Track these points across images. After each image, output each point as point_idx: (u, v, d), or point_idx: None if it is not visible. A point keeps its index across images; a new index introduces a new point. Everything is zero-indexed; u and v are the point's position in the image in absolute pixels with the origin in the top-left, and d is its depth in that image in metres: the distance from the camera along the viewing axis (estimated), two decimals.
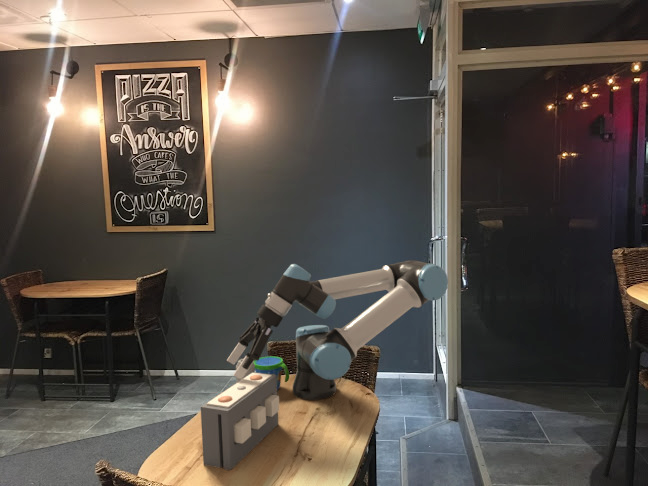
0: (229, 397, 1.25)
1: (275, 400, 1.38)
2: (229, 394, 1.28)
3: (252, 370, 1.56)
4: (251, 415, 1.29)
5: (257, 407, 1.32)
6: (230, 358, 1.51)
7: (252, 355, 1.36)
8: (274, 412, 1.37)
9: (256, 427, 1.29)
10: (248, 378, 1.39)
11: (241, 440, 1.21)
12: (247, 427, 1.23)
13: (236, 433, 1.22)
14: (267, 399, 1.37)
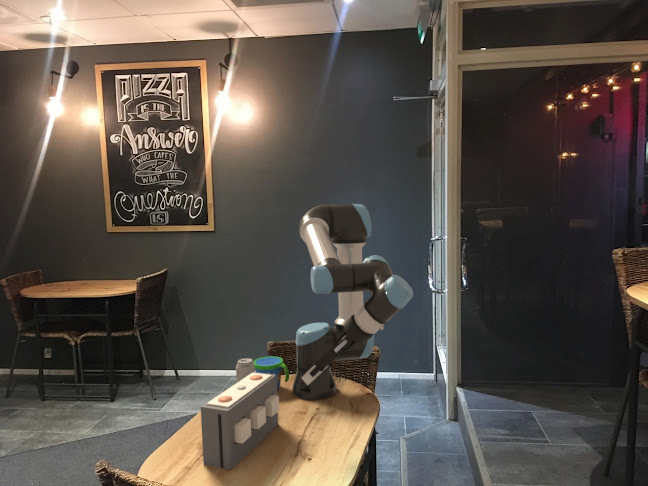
0: (229, 397, 1.25)
1: (275, 400, 1.38)
2: (229, 394, 1.28)
3: (252, 370, 1.56)
4: (251, 415, 1.29)
5: (257, 407, 1.32)
6: None
7: None
8: (274, 412, 1.37)
9: (256, 427, 1.29)
10: (248, 378, 1.39)
11: (241, 440, 1.21)
12: (247, 427, 1.23)
13: (236, 433, 1.22)
14: (267, 399, 1.37)
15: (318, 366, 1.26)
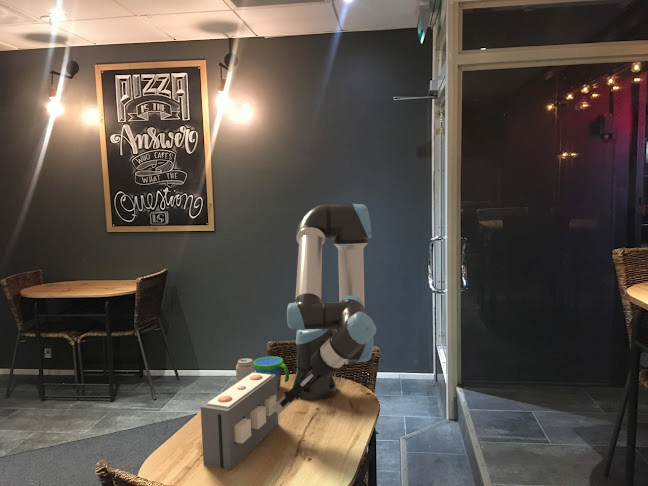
0: (229, 397, 1.25)
1: (273, 399, 1.38)
2: (229, 394, 1.28)
3: (252, 370, 1.56)
4: (251, 415, 1.29)
5: (257, 407, 1.32)
6: None
7: None
8: (271, 411, 1.37)
9: (256, 427, 1.29)
10: (248, 378, 1.39)
11: (241, 440, 1.21)
12: (247, 427, 1.23)
13: (236, 433, 1.22)
14: None
15: (287, 397, 1.32)
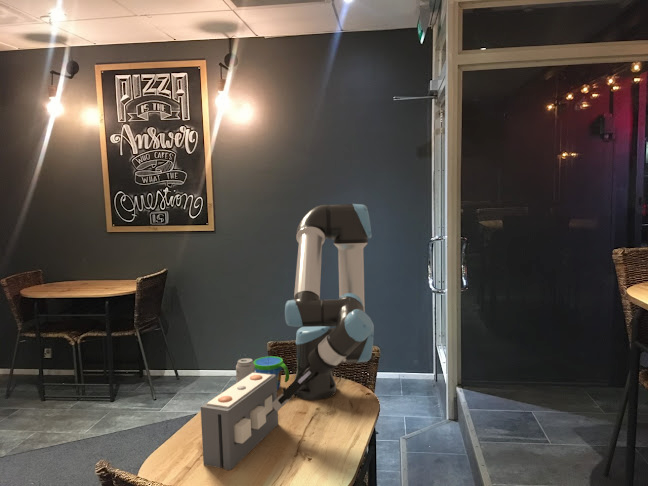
0: (229, 397, 1.25)
1: (269, 399, 1.39)
2: (229, 394, 1.28)
3: (252, 370, 1.56)
4: (251, 415, 1.29)
5: (257, 407, 1.32)
6: None
7: None
8: (267, 411, 1.38)
9: (256, 427, 1.29)
10: (248, 378, 1.39)
11: (241, 440, 1.21)
12: (247, 427, 1.23)
13: (236, 433, 1.22)
14: None
15: (285, 394, 1.32)
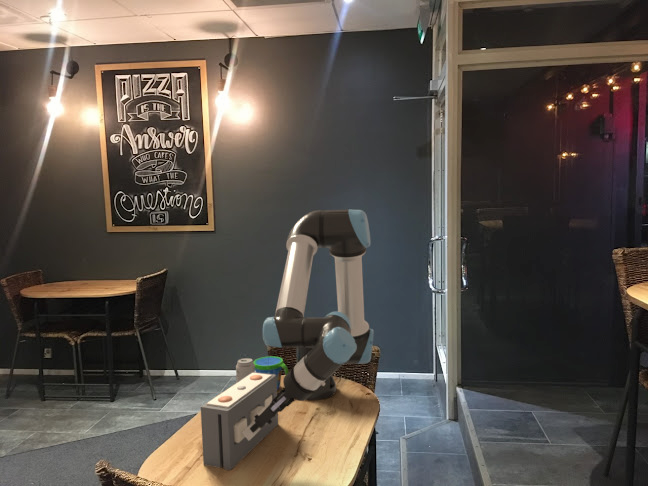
0: (229, 397, 1.25)
1: (269, 399, 1.39)
2: (229, 394, 1.28)
3: (252, 370, 1.56)
4: (251, 415, 1.29)
5: (257, 407, 1.32)
6: None
7: None
8: None
9: None
10: (248, 378, 1.39)
11: (237, 439, 1.22)
12: (243, 426, 1.24)
13: None
14: None
15: (257, 422, 1.17)
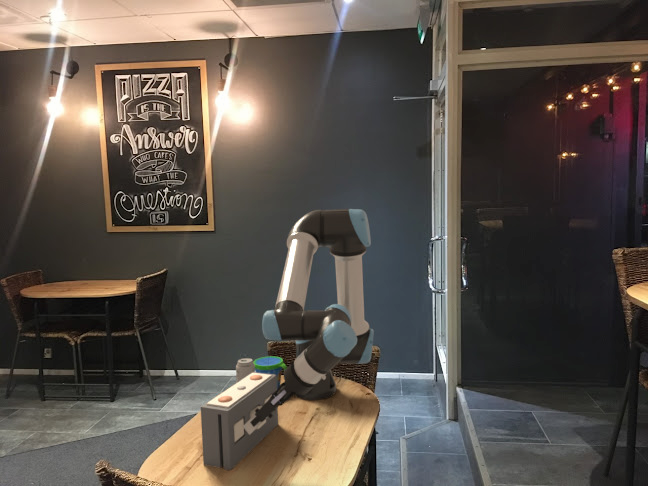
0: (229, 397, 1.25)
1: None
2: (229, 394, 1.28)
3: (252, 370, 1.56)
4: (251, 415, 1.29)
5: (257, 407, 1.32)
6: None
7: None
8: None
9: None
10: (248, 378, 1.39)
11: (234, 439, 1.22)
12: (240, 426, 1.24)
13: None
14: None
15: (258, 416, 1.16)
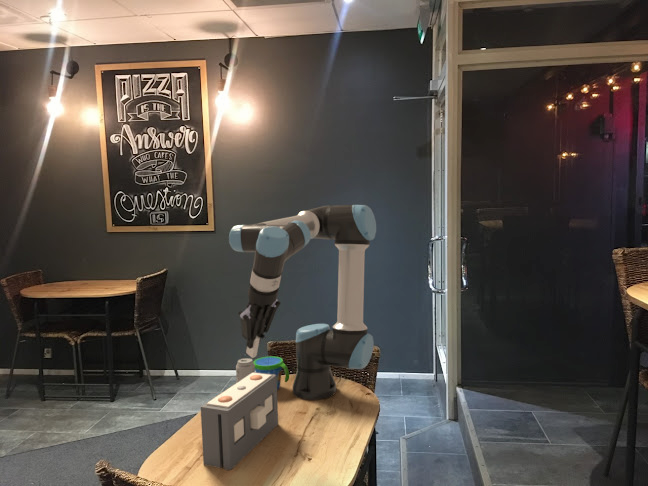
0: (229, 397, 1.25)
1: (269, 399, 1.39)
2: (229, 394, 1.28)
3: (252, 370, 1.56)
4: (251, 415, 1.29)
5: (257, 407, 1.32)
6: None
7: None
8: (267, 411, 1.38)
9: (256, 427, 1.29)
10: (248, 378, 1.39)
11: (234, 439, 1.22)
12: (240, 426, 1.24)
13: None
14: None
15: (244, 336, 1.28)
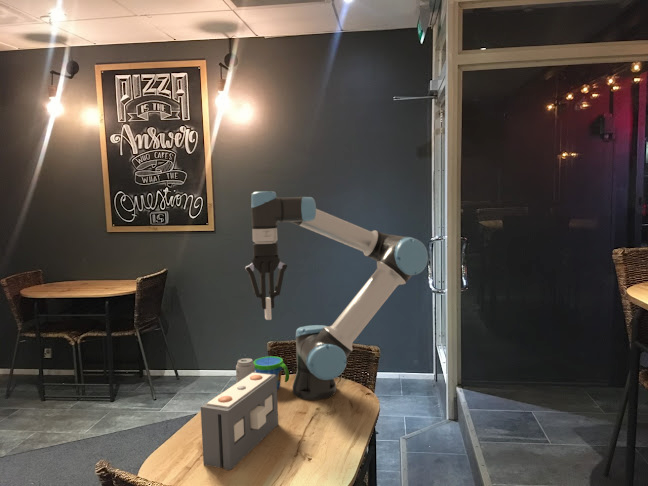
0: (229, 397, 1.25)
1: (269, 399, 1.39)
2: (229, 394, 1.28)
3: (252, 370, 1.56)
4: (251, 415, 1.29)
5: (257, 407, 1.32)
6: None
7: None
8: (267, 411, 1.38)
9: (256, 427, 1.29)
10: (248, 378, 1.39)
11: (234, 439, 1.22)
12: (240, 426, 1.24)
13: None
14: None
15: (255, 294, 1.47)
